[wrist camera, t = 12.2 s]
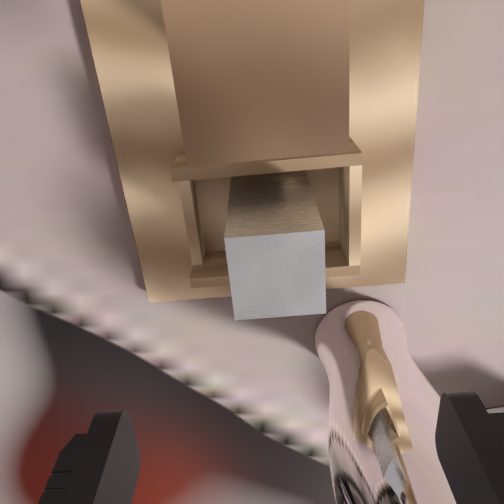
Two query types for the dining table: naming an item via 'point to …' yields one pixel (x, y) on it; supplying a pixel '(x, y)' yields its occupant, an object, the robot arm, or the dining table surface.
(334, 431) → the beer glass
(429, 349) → the dining table surface
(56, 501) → the robot arm
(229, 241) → the brushed grey block
